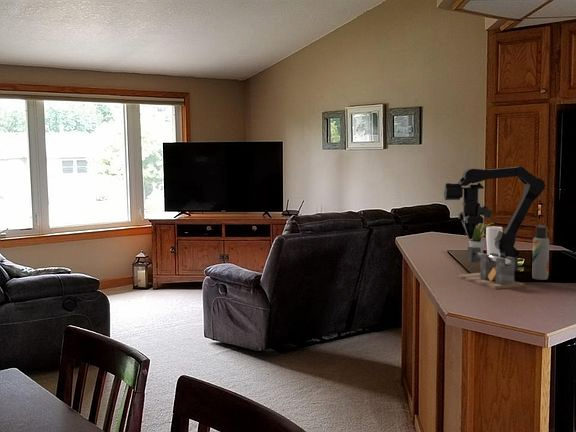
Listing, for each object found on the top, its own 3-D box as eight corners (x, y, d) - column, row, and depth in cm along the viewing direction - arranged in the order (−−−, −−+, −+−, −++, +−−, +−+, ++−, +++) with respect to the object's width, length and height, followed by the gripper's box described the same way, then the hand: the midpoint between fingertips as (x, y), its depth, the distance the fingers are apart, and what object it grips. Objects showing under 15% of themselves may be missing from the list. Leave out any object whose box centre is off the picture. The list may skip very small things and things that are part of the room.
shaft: (467, 261, 249) (467, 247, 248) (476, 260, 250) (476, 246, 250) (504, 271, 229) (504, 255, 228) (513, 270, 230) (513, 254, 229)
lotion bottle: (547, 277, 246) (549, 225, 244) (548, 280, 241) (550, 226, 239) (531, 276, 248) (533, 224, 246) (532, 279, 243) (533, 226, 241)
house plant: (491, 251, 309) (492, 217, 307) (498, 256, 295) (499, 220, 294) (461, 251, 310) (461, 217, 309) (466, 256, 297) (466, 220, 295)
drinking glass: (502, 263, 278) (503, 228, 276) (486, 262, 279) (487, 228, 278) (501, 260, 284) (501, 226, 283) (484, 260, 286) (485, 226, 284)
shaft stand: (457, 277, 249) (457, 250, 248) (483, 274, 253) (484, 248, 252) (495, 289, 227) (495, 260, 226) (523, 286, 231) (524, 257, 230)
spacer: (487, 276, 237) (493, 267, 233) (498, 275, 239) (504, 266, 235) (490, 281, 235) (496, 272, 232) (502, 280, 237) (508, 271, 233)
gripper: (497, 201, 249) (496, 242, 250) (485, 198, 267) (485, 235, 269) (467, 202, 249) (467, 242, 251) (458, 198, 268) (457, 235, 270)
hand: (470, 238), depth 260 cm, fingers closed
